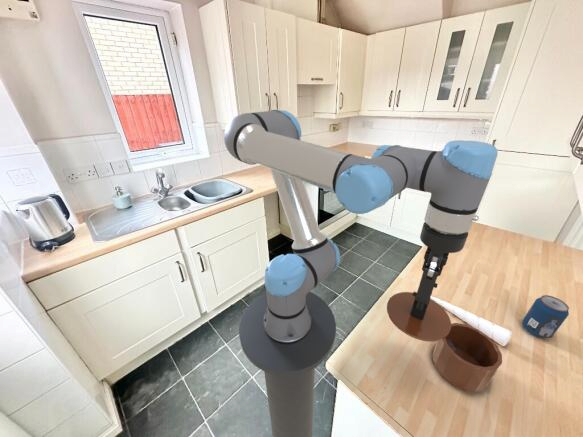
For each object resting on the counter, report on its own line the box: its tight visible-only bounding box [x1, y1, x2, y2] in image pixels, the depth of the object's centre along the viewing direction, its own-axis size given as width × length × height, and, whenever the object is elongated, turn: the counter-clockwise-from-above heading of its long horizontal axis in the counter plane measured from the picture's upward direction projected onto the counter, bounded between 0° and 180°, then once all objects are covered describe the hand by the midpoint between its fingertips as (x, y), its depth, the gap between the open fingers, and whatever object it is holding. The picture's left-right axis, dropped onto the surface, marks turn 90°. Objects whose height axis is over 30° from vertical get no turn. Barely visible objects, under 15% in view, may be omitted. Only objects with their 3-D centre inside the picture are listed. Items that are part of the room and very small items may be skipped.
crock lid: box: [386, 291, 452, 343], centre depth 56 cm, size 14×14×9 cm
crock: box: [432, 322, 503, 393], centre depth 63 cm, size 13×13×10 cm
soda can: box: [521, 294, 570, 340], centre depth 71 cm, size 7×7×12 cm
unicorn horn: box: [430, 295, 513, 347], centre depth 78 cm, size 5×24×5 cm, turn 32°
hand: (418, 311), depth 57 cm, fingers closed on crock lid, 3 cm apart
